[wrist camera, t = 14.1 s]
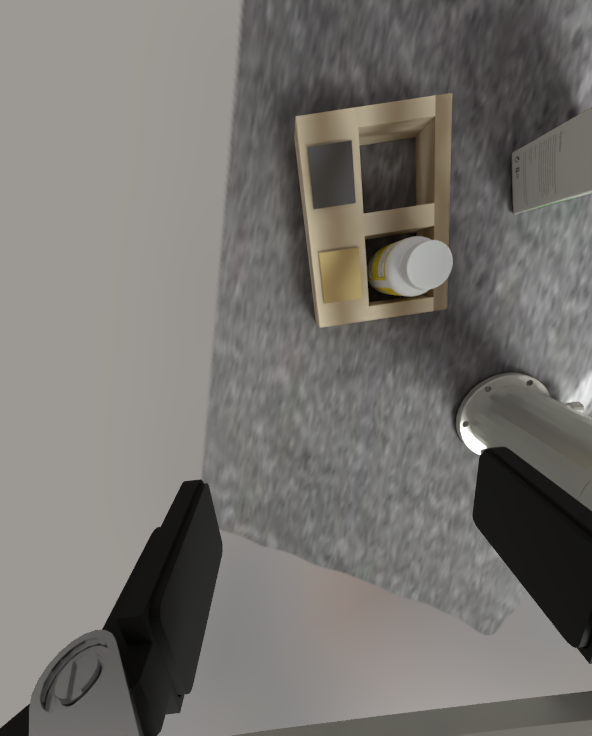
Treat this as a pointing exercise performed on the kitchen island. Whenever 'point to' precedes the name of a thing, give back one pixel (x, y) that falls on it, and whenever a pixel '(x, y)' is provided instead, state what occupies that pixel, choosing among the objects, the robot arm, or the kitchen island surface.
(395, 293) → the supplement bottle
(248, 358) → the kitchen island surface
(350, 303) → the socket block
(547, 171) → the skincare box
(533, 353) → the kitchen island surface
